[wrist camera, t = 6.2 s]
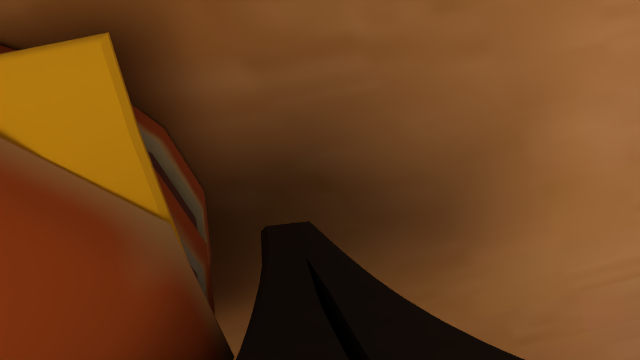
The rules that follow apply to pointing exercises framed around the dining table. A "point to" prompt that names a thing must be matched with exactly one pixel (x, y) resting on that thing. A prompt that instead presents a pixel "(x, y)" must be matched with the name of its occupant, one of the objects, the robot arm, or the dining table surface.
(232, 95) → the dining table surface
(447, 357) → the robot arm
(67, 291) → the hamburger
